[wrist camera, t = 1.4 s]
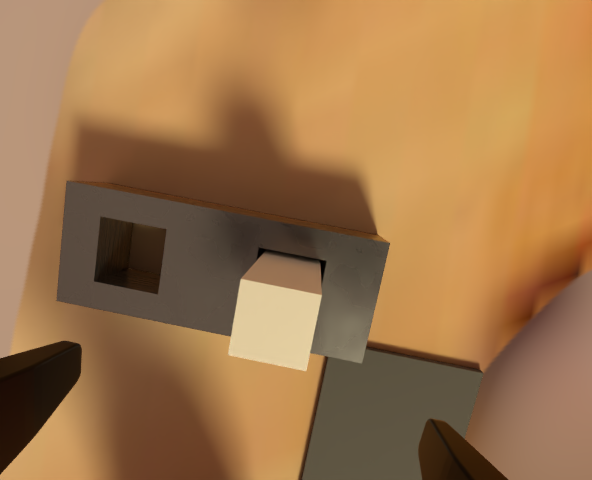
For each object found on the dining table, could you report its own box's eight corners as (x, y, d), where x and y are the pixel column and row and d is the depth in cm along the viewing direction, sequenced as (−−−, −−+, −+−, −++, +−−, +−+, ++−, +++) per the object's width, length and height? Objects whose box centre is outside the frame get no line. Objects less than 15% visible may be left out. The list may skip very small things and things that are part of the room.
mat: (435, 524, 24) (438, 529, 24) (298, 493, 24) (297, 498, 24) (480, 370, 22) (483, 373, 22) (331, 339, 23) (331, 342, 22)
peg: (310, 300, 22) (306, 371, 13) (263, 290, 22) (227, 354, 13) (319, 253, 22) (322, 295, 13) (271, 243, 22) (240, 278, 13)
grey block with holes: (355, 337, 22) (362, 363, 19) (95, 284, 23) (56, 300, 20) (378, 234, 21) (390, 243, 18) (106, 182, 22) (66, 180, 19)
